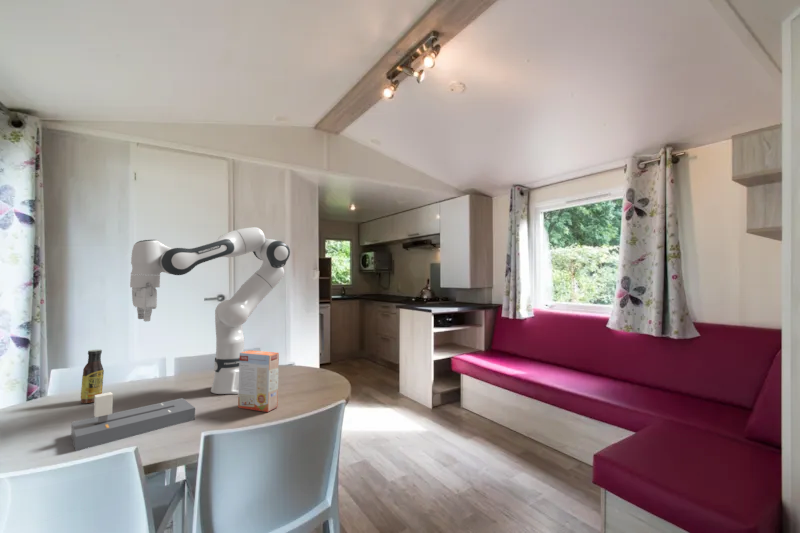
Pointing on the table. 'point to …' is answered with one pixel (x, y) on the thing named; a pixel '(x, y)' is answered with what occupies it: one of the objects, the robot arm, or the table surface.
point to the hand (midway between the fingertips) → (143, 320)
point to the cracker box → (258, 380)
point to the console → (130, 423)
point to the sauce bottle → (92, 377)
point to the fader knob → (103, 406)
